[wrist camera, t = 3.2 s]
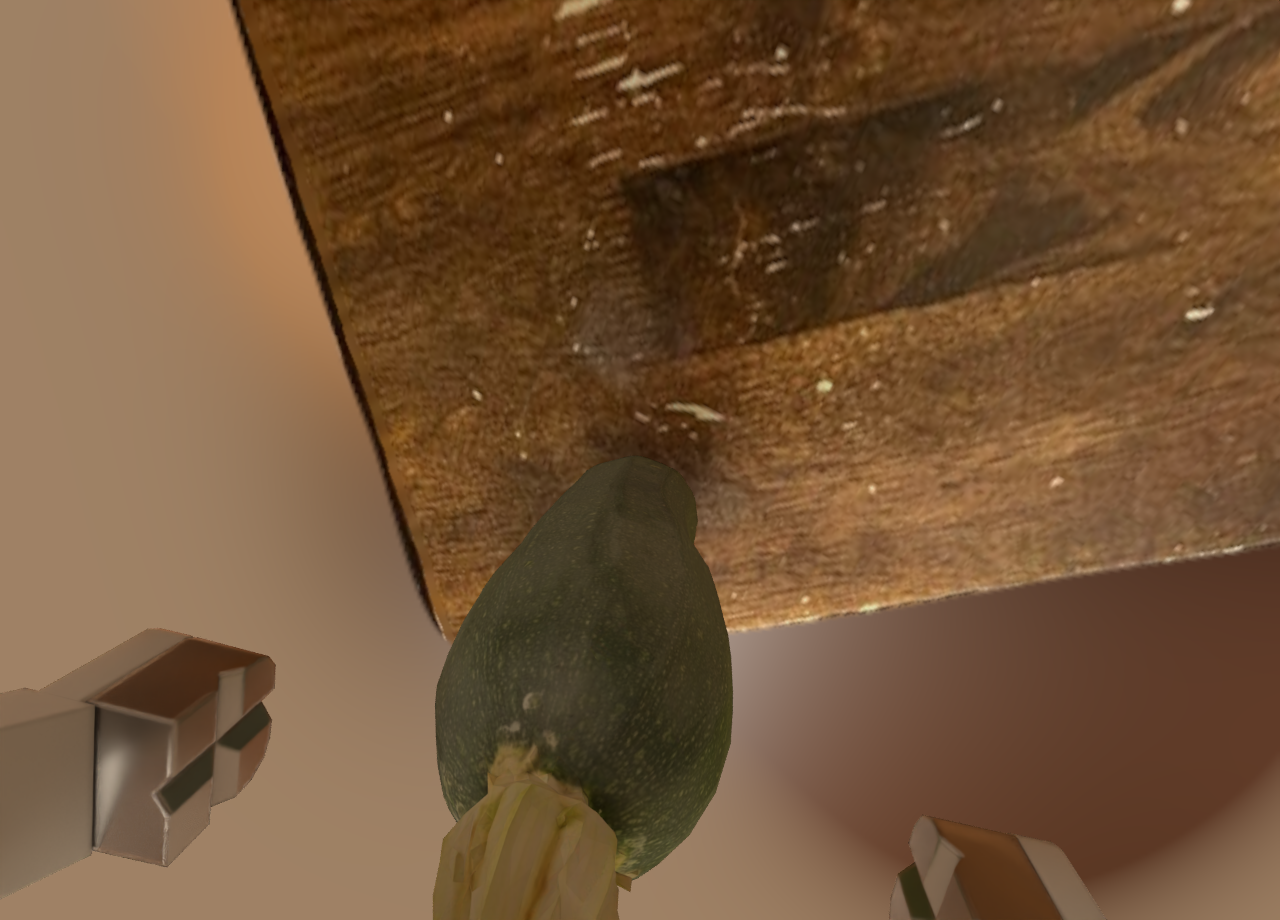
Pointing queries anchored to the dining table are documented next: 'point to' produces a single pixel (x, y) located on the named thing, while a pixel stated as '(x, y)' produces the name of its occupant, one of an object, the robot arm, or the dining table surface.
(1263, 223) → the dining table surface
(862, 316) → the dining table surface
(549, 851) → the vegetable
